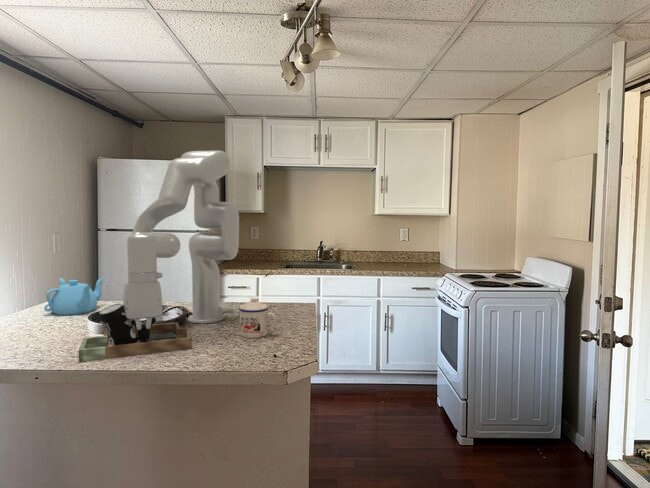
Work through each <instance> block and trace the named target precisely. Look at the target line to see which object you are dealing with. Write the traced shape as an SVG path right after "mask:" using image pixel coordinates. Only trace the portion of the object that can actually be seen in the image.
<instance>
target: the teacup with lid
mask: <svg viewBox="0 0 650 488" xmlns="http://www.w3.org/2000/svg"><path fill="white" fill-rule="evenodd" d="M238 309H239V334H240V336H241V337H243V338H247V339H257V338H262V337H265V336H266V335H268V329H272V328H273V327H274V326H275V325H276V323H277V316H276V315H275V313H273V312H268V310H269V306H268V305H267V304H266V303H262V302H261V301H258V299H257V298H256V297H251V298H250V301H247V302H246V303H244V304H241V305H240V306H239V308H238ZM268 316H271V317H272V319H273V322H272V324H271V325H268Z"/></svg>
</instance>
